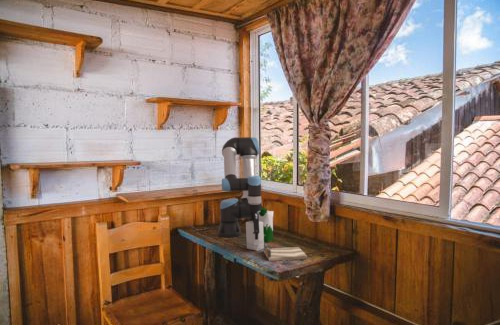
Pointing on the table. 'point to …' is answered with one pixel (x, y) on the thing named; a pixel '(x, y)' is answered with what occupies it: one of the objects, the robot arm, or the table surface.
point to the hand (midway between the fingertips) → (254, 242)
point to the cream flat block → (284, 253)
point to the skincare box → (251, 236)
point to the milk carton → (267, 223)
